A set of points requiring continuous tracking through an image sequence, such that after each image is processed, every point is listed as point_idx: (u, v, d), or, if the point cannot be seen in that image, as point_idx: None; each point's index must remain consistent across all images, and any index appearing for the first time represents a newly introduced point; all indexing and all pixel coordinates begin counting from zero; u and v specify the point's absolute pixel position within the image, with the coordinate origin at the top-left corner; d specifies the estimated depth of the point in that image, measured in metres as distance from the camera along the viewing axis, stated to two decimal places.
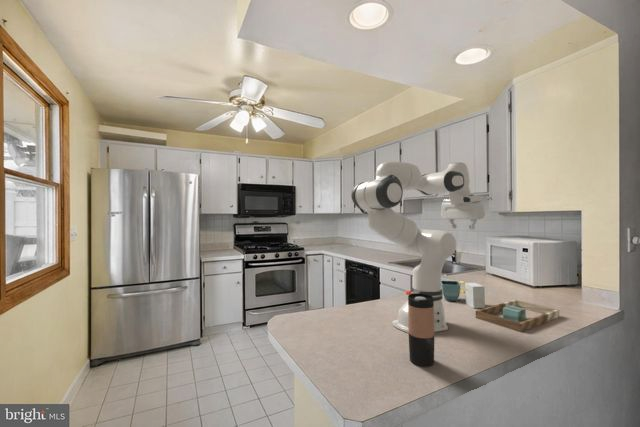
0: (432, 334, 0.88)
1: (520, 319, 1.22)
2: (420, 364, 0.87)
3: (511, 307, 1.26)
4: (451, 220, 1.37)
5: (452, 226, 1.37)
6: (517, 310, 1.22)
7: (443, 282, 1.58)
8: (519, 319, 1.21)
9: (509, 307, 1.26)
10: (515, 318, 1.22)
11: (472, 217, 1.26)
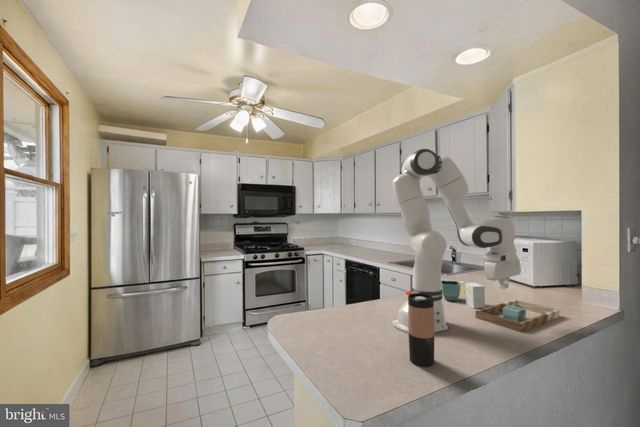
0: (432, 334, 0.88)
1: (520, 319, 1.22)
2: (420, 364, 0.87)
3: (511, 307, 1.26)
4: None
5: None
6: (516, 310, 1.22)
7: (443, 282, 1.58)
8: (519, 319, 1.21)
9: (509, 307, 1.26)
10: (515, 318, 1.22)
11: None
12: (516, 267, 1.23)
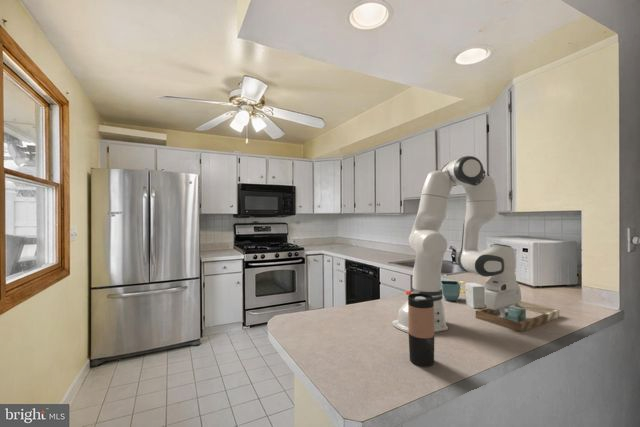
0: (432, 334, 0.88)
1: (520, 319, 1.22)
2: (420, 364, 0.87)
3: (511, 307, 1.26)
4: None
5: None
6: (516, 310, 1.22)
7: (443, 282, 1.58)
8: (519, 319, 1.21)
9: None
10: (515, 318, 1.22)
11: None
12: (516, 295, 1.22)
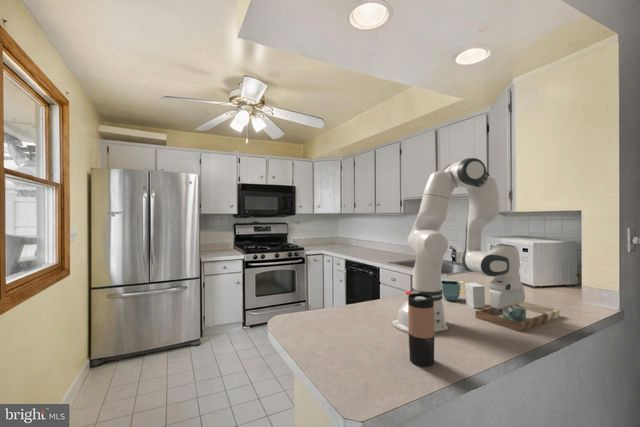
0: (432, 334, 0.88)
1: (520, 319, 1.22)
2: (420, 364, 0.87)
3: None
4: None
5: None
6: (516, 310, 1.22)
7: (443, 282, 1.58)
8: (518, 319, 1.21)
9: None
10: (514, 318, 1.22)
11: None
12: (520, 295, 1.24)
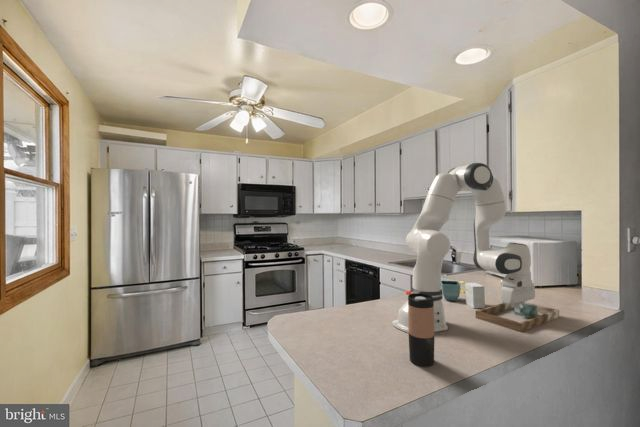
0: (432, 334, 0.88)
1: (531, 315, 1.26)
2: (420, 364, 0.87)
3: None
4: None
5: None
6: (527, 306, 1.26)
7: (443, 282, 1.58)
8: (530, 315, 1.25)
9: None
10: (526, 314, 1.26)
11: None
12: (531, 292, 1.28)
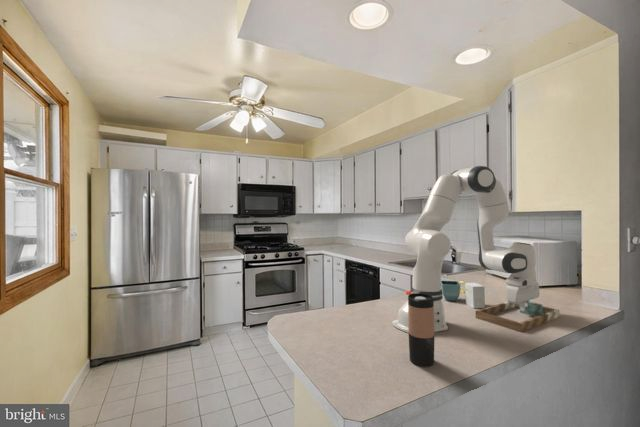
0: (432, 334, 0.88)
1: (536, 314, 1.28)
2: (420, 364, 0.87)
3: None
4: None
5: None
6: (533, 305, 1.28)
7: (443, 282, 1.58)
8: (535, 314, 1.27)
9: None
10: (531, 312, 1.28)
11: None
12: (535, 291, 1.30)
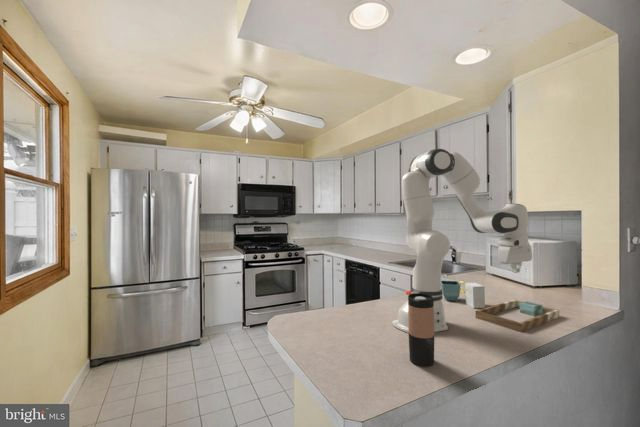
0: (432, 334, 0.88)
1: (536, 314, 1.28)
2: (420, 364, 0.87)
3: (528, 302, 1.32)
4: None
5: None
6: (533, 305, 1.28)
7: (443, 282, 1.58)
8: (535, 314, 1.27)
9: (526, 303, 1.32)
10: (531, 313, 1.28)
11: None
12: (528, 253, 1.29)
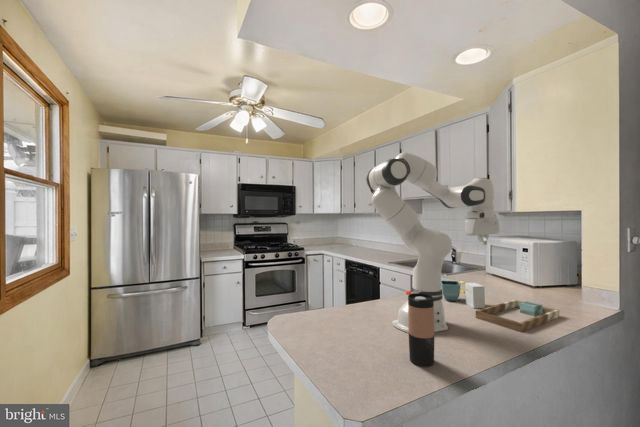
0: (432, 334, 0.88)
1: (536, 314, 1.28)
2: (420, 364, 0.87)
3: (528, 302, 1.32)
4: None
5: None
6: (533, 305, 1.28)
7: (443, 282, 1.58)
8: (535, 314, 1.27)
9: (526, 303, 1.32)
10: (531, 313, 1.28)
11: None
12: (495, 226, 1.33)
